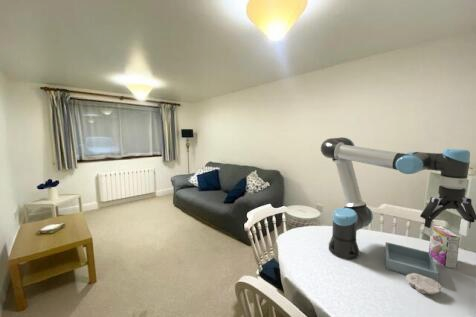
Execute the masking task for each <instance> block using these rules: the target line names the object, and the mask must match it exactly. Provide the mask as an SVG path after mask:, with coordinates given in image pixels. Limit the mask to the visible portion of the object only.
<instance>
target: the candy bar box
mask: <svg viewBox="0 0 476 317" xmlns="http://www.w3.org/2000/svg"><path fill="white" fill-rule="evenodd" d="M460 238H461V237H460V236H459V235H457V234H455V233H454V232H452V231H451V230H449V229H447V228H446V227H444V226H443V225H434V229H433V236H430V235H429V244H428V245H429V246H428V247H429V248H428V252H430V253H431V255H432V258H433V260H435V261H437V262H438V263H439V264H440V265H442V266H443V267H444V268H448V269H449V268H450V269H457V266H458V265H457V264H458V258H459V257H458V256H459V246H460Z"/></svg>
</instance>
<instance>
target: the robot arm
mask: <svg viewBox="0 0 476 317" xmlns="http://www.w3.org/2000/svg"><path fill="white" fill-rule="evenodd" d="M320 151H321V155H323V156H324V157H325V158H327V159H332V162H333V163H335V164H336V168H337V173H338V176H339V180H340V183H341V189H342V192H343V197H344V201H345V203H344V204H343V207H339V208H336V209H335V210H334V211H333V214H332V235H331V238H330V240H329V243H328V251H329V252H330V253H332V255H334V256H335V257H337V258H340V259H344V260H356V259H357V258H359V257H360V248H359V246H358V243H357V231H359V230H362V229H363V228H365V227H368V226H369V225H370V224H371V223H372V222H373V220H374V214H373V211H372V209H370V208H369V207H368V206H367V203H366V202H365V201H363V199H362V195H361V192H360V188H359V183H358V179H357V177H356V172H355V168H354V165H353V162H357V163H361V164H367V165H370V166H371V165H372V166H375V167H381V168H387V169H391V170H395V171H399V172H400V173H401V174H405V175H411V174H412V175H413V174H417V173H419V172H421V171H424V170H427V171H435V172H440V174H439V175H440V177H439V183H438V184H439V186H438V191H437V192H438V193H437V194H438V195H439V197H433V196H431V197H430V198H429V201H428V203H427V205H426V206H425V208H424V209H423V211H422V212H421V214H420V216H419V217H420V218H422V219H424V226H425V231H424V232H425V234H426V235H428V236H429V237H430V236H433V229H434V226H435V221H434V220H435V219H436V218H438V217H437V216H439V215H440V214H441V213H442V212H444V211H446V210H451V209H452V210H456V212H458V214H459V215H460V216H461V217H462V218H460V225H459V232H458V233H459V234H460V235H462V236H464V237H469V231H470V228H471V226H472V225H471V224H472V223H475V221H476V212H475V211H476V210H474V207H473V204H472V199H471V198H469V197H465V196H466V191H467V189H465V188H466V187H467V183H468V182H467V181H468V174H469V168H470V164H471V151H470V150H467V149H462V148H446V149H443V151H442V153H437V152H422V151H408V152H407V153H403V152H396V151H389V150H381V149H376V148H370V147H363V146H355V143H354V142H353V140H352V139H350V138H348V137H335V138H333V137H331V138H327V139H324V141H323V142H322V144H321V145H320Z"/></svg>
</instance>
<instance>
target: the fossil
mask: <svg viewBox="0 0 476 317" xmlns="http://www.w3.org/2000/svg"><path fill="white" fill-rule="evenodd" d="M405 280H406V282H407V283H408V285H410V286H411V287H413V288H415V290H416V291H417V292H419V293H420V294H423V295H425V294H429V295H436V294H440V291H441V289H442V285H441V284H440V283H439V281H438V282H436V281H435V280H433V279H431V278H428V277H426V276H422V275H420V274H416V273H412V274H408V275H405Z"/></svg>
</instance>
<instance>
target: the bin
mask: <svg viewBox="0 0 476 317" xmlns="http://www.w3.org/2000/svg"><path fill="white" fill-rule="evenodd" d="M384 246H385V249H384V253H385V254H384V255H385V256H384V257H385V258H384V259H385V269H386V270H387V271H391V272H395V273H398V274H400V275H401V274H402V275H405V276H406V275H408V274H412V273H416V274H420V275H422V276H426V277H428V278H431V279H433V280H435V281H436V282H438V283H439V274H440V273H439V271H438V269H437V266H436V264H435V261H434V258H433V257H432V255H431V253H430V252H429V251H426V250H422V249H421V250H420V249H416V248H412V247H409V246H404V245H401V244H396V243H392V242H385V245H384Z"/></svg>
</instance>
